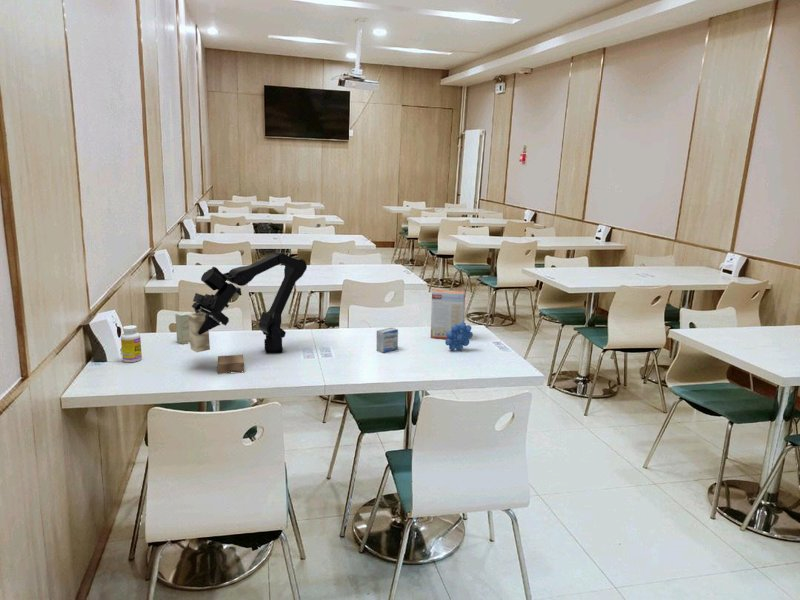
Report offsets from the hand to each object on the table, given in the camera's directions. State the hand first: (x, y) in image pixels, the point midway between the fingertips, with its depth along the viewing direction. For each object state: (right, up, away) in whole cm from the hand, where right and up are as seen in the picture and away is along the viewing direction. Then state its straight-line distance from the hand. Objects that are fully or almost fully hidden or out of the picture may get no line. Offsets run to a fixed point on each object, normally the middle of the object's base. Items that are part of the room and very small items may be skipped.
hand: (195, 332), depth 210 cm
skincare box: (-15, -6, +33) cm, 37 cm away
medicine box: (+68, -9, +29) cm, 74 cm away
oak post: (+1, -6, +3) cm, 7 cm away
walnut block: (+12, -14, +3) cm, 18 cm away
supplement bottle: (-27, -11, +10) cm, 31 cm away
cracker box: (+94, -5, +47) cm, 105 cm away
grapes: (+97, -9, +31) cm, 102 cm away
